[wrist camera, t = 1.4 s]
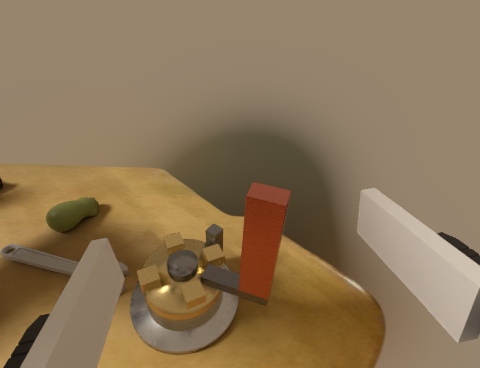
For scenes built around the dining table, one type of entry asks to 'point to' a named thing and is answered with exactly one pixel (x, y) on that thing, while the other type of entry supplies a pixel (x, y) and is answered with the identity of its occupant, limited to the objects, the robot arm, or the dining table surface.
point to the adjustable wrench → (47, 260)
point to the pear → (71, 213)
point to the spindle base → (184, 342)
